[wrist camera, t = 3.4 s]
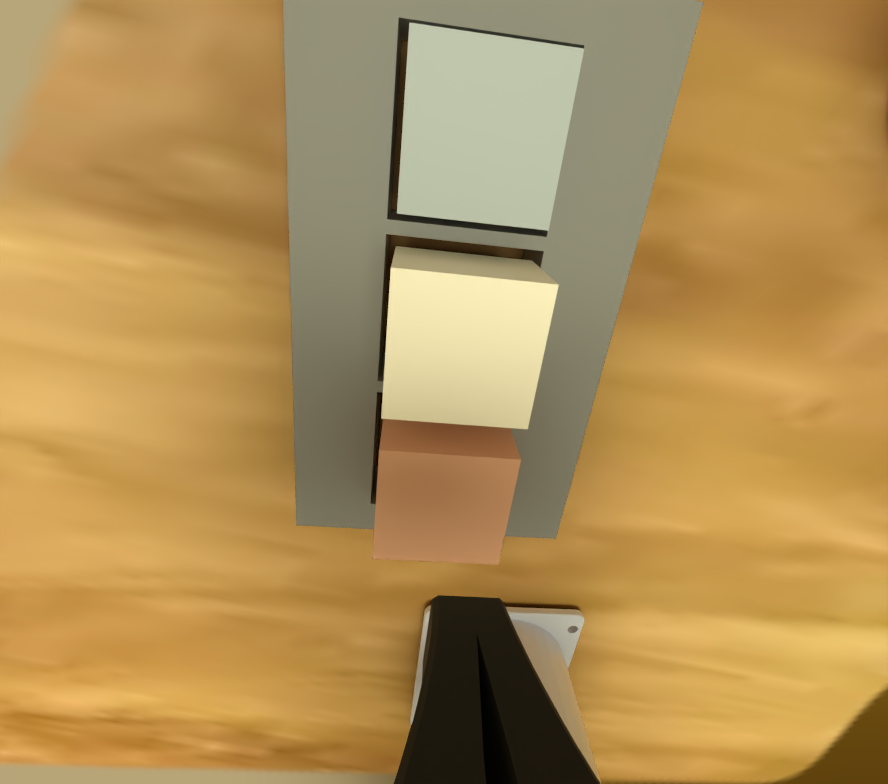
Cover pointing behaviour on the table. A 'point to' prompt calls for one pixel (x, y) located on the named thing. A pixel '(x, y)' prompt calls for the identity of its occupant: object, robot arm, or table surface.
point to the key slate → (484, 126)
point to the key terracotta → (443, 491)
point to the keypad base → (460, 224)
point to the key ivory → (465, 338)
